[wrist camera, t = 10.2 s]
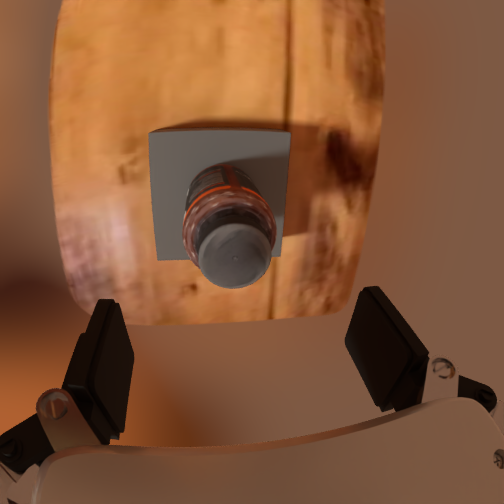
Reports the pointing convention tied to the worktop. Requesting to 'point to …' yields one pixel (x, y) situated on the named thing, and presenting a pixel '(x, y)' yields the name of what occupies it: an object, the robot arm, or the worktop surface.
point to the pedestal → (205, 155)
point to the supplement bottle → (228, 227)
